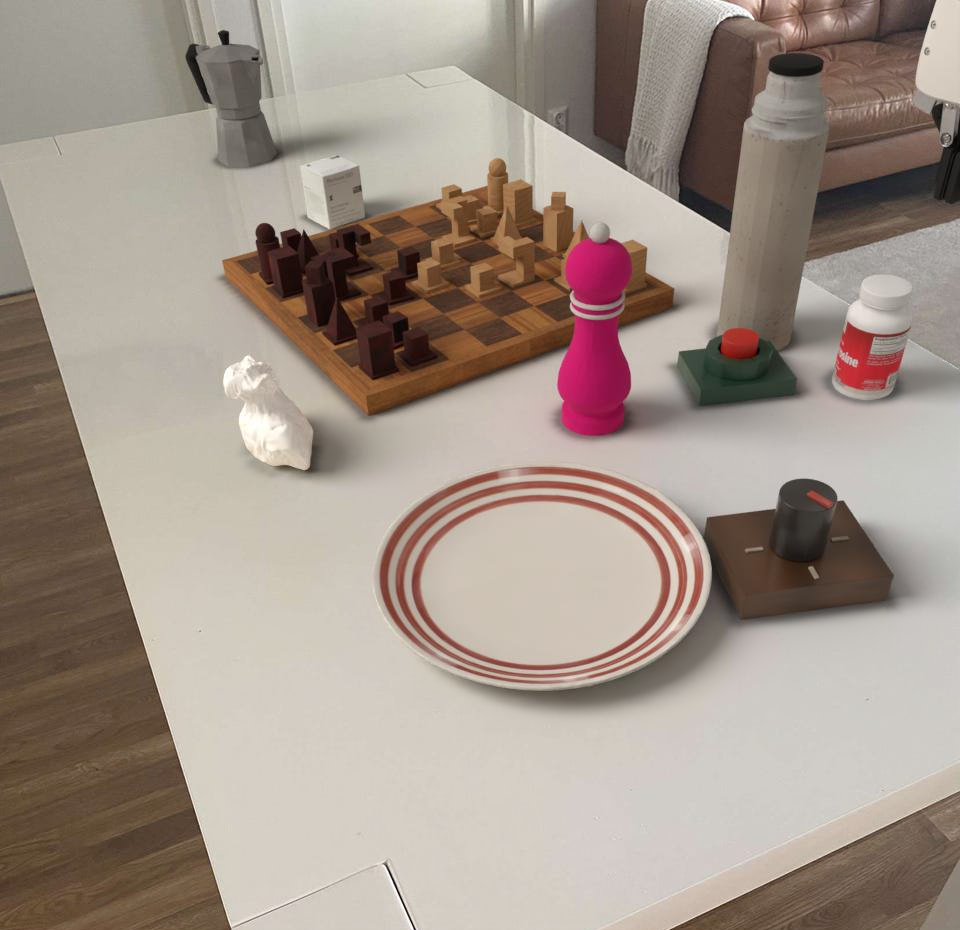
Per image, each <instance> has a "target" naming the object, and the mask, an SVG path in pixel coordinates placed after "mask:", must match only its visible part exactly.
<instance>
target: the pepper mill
mask: <svg viewBox="0 0 960 930" xmlns="http://www.w3.org/2000/svg"><path fill="white" fill-rule="evenodd" d="M610 236H611V229H610V227H609V225H607V224H606V222H603V221H599V222H596V223H594V224H593V225H592V226H591V227H590V230H589V238H588V239H585V240H583V241H581V242H580V243H578V244H577V245H576V246H575V247H574V248H573V249H572V250H571V252H570V253H569V255H568V258H567V261H566V267H565V276H566V280H567V282H568V284H569V286H570V287H571V288H572V290H573V291H572V292H571V294H570V300H571V303H570V309H571V311H572V312H573V313H574V314H575V329H574V335H573V339H572V342H571V344H569V346H568V349H567V351H566V352H565V355H564V357H563V359H562V360H561V363H560V366H559V370H558V374H557V381H556V388H557V392H558V394H559V396H560V398H561V399H562V400H563V403H561V422H562V424H563V427H565V428H566V429H567V430H569V431H570V432H572V433H575V434H577V435H580V436H586V437H587V436H588V437H596V436H597V437H598V436H605V435H609V434H613V433H614V432H616V431H618V430H619V429H620V428H621V427H622V426H623V424H624V422H625V409H626V408H625V403H624V401H625V400H626V399H627V398H628V396H629V395H630V393H631V389H632V374H631V373H632V372H631V369H630V365H629V362H628V360H627V358H626V356H625V354H624V352H623V349H622V346H621V342H620V339H619V326H618V319H619V314H620V313H621V312H622V311H623V310H624V306H625V305H624V299H625V294H624V292H623V290H624V289H625V288H626V286H627V285H628V283H629V282H630V279H631V276H632V261H631V257H630V254H629V253H628V251H627V249H626V248H625V247H624V246H623V245H622V244H621V243H622V242H620V241H619V240H617V239H614V238H611V237H610Z"/></svg>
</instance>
